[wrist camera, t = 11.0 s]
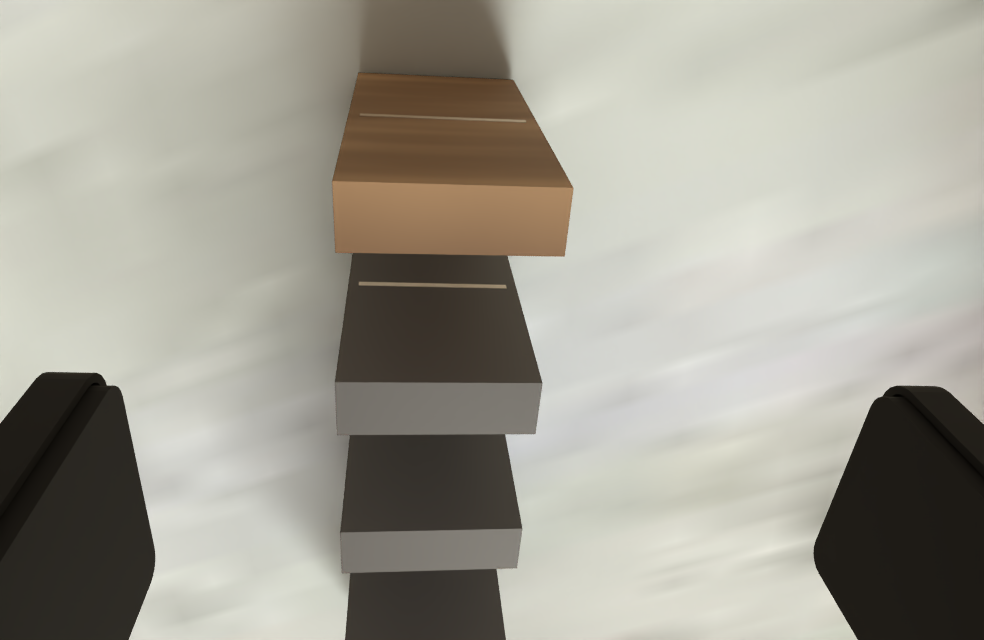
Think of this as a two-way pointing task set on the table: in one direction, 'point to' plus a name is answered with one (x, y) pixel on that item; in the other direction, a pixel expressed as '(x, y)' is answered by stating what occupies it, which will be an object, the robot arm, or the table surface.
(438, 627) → the domino
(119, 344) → the table surface
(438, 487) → the domino
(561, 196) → the domino
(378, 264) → the domino
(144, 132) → the table surface
